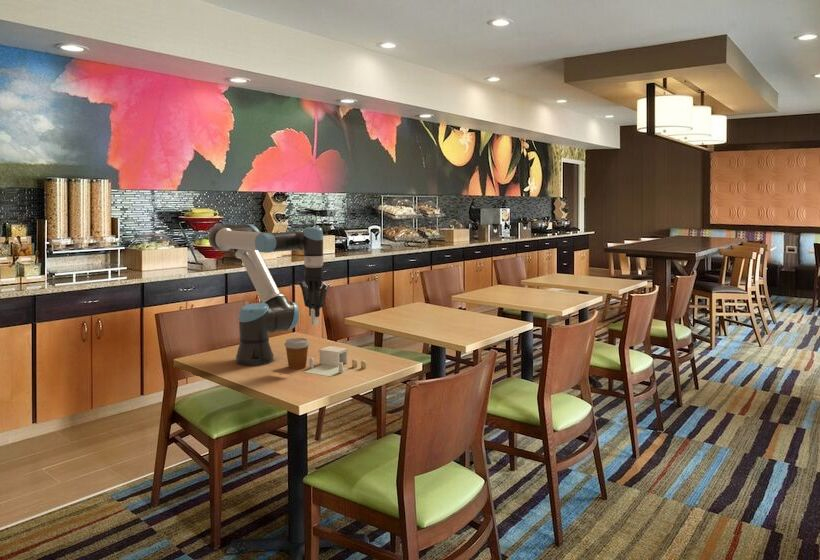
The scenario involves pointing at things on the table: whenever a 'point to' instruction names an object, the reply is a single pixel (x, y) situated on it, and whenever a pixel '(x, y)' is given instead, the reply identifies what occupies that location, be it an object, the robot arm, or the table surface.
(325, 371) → the board
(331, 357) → the block
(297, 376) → the table surface
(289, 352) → the disposable coffee cup
